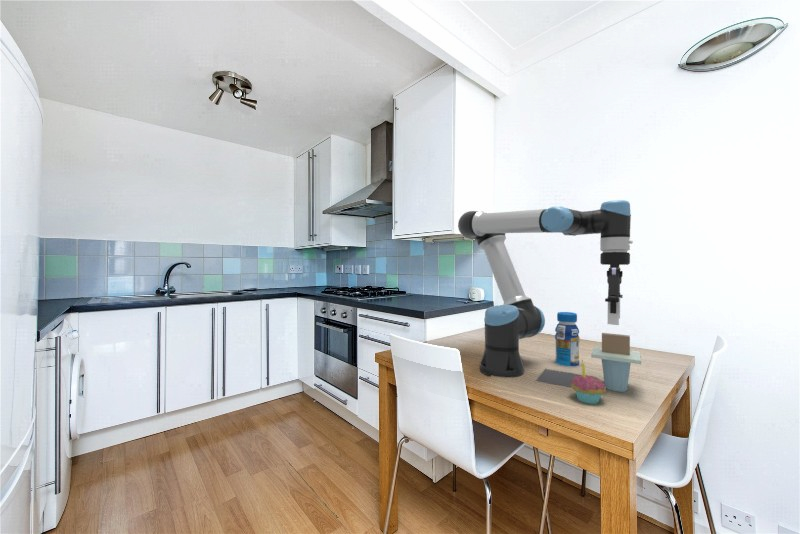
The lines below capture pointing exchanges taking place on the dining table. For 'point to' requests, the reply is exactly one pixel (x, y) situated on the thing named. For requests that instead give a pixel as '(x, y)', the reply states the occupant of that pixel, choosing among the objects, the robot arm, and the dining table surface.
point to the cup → (616, 375)
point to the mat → (556, 377)
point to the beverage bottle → (567, 340)
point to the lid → (616, 349)
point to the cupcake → (587, 387)
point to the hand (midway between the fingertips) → (614, 321)
